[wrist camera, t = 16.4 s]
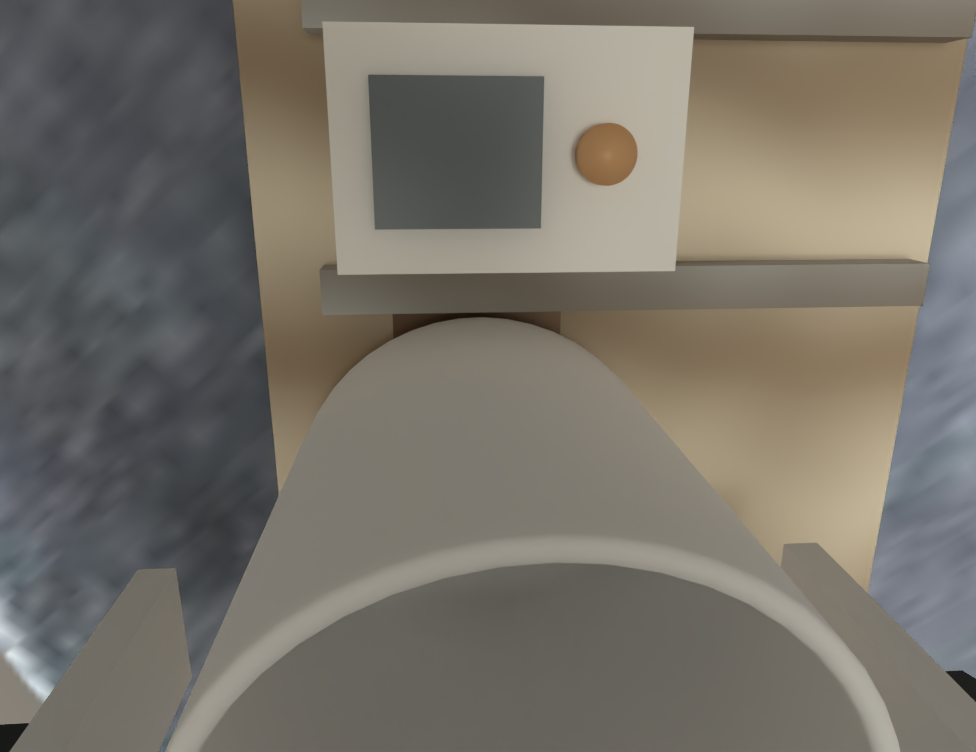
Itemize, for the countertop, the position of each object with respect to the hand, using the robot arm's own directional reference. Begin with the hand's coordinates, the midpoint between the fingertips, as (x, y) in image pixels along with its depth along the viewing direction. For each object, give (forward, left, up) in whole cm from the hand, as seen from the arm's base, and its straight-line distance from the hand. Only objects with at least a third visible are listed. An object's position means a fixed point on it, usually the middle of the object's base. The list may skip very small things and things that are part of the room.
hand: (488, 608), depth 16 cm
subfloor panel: (-5, +3, -4) cm, 8 cm away
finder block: (-9, 0, -3) cm, 10 cm away
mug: (0, 0, -4) cm, 4 cm away
